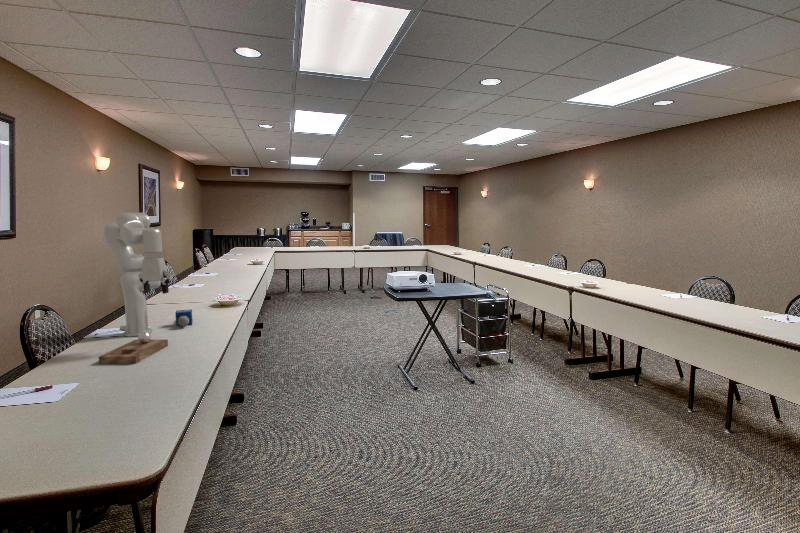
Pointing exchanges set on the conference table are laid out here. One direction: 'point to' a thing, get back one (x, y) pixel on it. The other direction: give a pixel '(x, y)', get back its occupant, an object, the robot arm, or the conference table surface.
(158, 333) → the conference table surface
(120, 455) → the conference table surface
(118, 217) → the robot arm
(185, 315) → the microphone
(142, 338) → the ball
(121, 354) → the deck
